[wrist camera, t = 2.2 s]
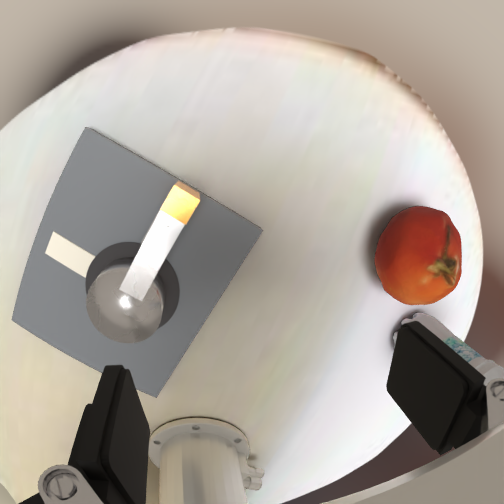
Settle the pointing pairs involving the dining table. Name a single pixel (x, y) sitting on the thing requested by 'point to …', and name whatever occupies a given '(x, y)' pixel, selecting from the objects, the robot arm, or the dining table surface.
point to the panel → (124, 245)
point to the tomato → (419, 256)
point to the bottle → (458, 347)
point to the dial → (140, 276)
